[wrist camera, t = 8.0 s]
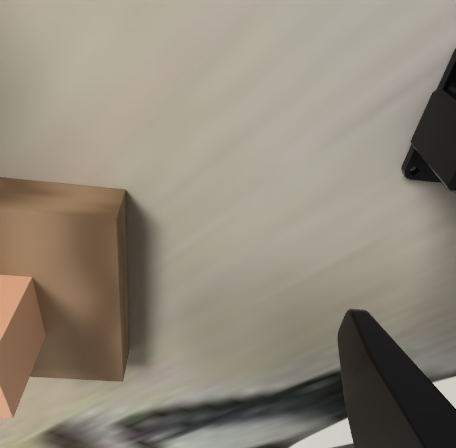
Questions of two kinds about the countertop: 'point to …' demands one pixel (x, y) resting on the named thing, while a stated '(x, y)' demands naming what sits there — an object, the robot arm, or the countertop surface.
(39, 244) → the base board
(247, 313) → the countertop surface
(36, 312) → the block
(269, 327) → the countertop surface
